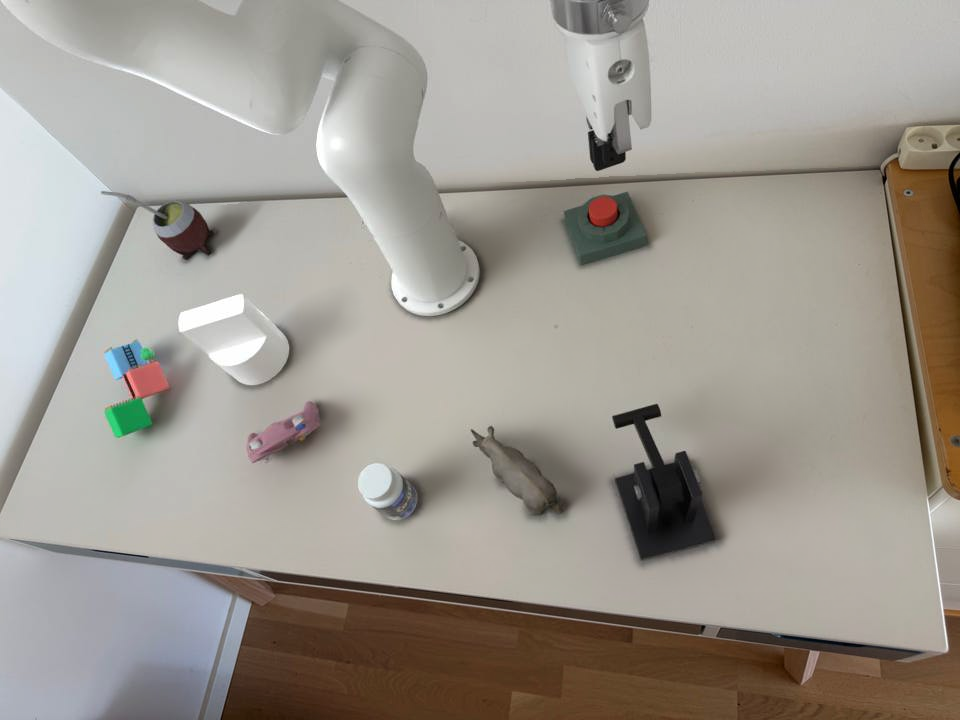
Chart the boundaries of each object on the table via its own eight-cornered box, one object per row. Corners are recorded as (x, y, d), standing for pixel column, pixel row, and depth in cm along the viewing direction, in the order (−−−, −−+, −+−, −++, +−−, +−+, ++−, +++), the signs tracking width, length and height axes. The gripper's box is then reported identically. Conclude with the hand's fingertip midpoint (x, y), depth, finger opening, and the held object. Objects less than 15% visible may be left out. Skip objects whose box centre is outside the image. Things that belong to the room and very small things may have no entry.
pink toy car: (266, 466, 85) (247, 471, 78) (249, 435, 86) (229, 438, 79) (332, 428, 86) (319, 430, 79) (315, 398, 86) (301, 397, 79)
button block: (565, 221, 91) (562, 202, 88) (627, 201, 90) (627, 182, 87) (580, 265, 87) (578, 247, 84) (646, 245, 86) (646, 226, 83)
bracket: (614, 481, 73) (610, 446, 63) (684, 462, 72) (692, 423, 62) (640, 561, 69) (640, 537, 59) (715, 542, 68) (728, 514, 58)
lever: (613, 425, 72) (610, 410, 70) (658, 413, 71) (655, 397, 70) (647, 510, 62) (643, 494, 60) (699, 496, 61) (696, 480, 60)
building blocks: (164, 419, 96) (131, 343, 95) (181, 413, 90) (147, 332, 89) (108, 441, 91) (73, 361, 90) (123, 436, 85) (85, 350, 84)
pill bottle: (413, 523, 76) (389, 505, 69) (376, 517, 77) (348, 498, 70) (422, 484, 78) (400, 462, 71) (386, 478, 79) (360, 456, 72)
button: (586, 210, 87) (585, 201, 85) (612, 202, 86) (612, 193, 85) (594, 230, 85) (593, 222, 83) (621, 222, 85) (620, 213, 83)
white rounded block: (230, 392, 90) (177, 353, 80) (229, 338, 94) (179, 294, 84) (291, 374, 89) (245, 332, 79) (287, 321, 94) (243, 274, 83)
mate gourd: (227, 239, 104) (168, 174, 91) (191, 274, 102) (125, 213, 89) (201, 220, 107) (141, 155, 94) (166, 254, 105) (99, 192, 92)
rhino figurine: (490, 425, 80) (480, 406, 74) (570, 504, 73) (565, 489, 68) (465, 448, 79) (453, 430, 74) (544, 530, 72) (537, 517, 67)
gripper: (684, 31, 46) (671, 202, 62) (612, -76, 53) (618, 101, 69) (582, 68, 47) (596, 227, 63) (525, -44, 54) (551, 125, 70)
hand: (607, 161), depth 66 cm, fingers closed
